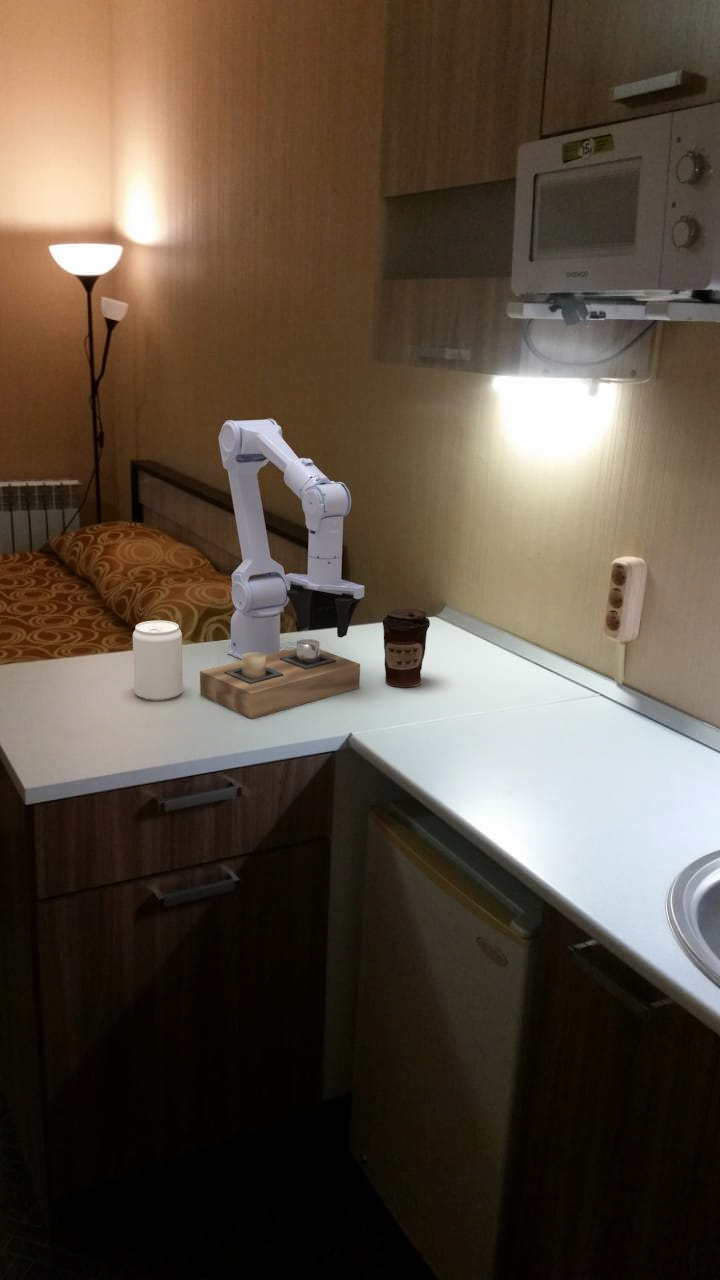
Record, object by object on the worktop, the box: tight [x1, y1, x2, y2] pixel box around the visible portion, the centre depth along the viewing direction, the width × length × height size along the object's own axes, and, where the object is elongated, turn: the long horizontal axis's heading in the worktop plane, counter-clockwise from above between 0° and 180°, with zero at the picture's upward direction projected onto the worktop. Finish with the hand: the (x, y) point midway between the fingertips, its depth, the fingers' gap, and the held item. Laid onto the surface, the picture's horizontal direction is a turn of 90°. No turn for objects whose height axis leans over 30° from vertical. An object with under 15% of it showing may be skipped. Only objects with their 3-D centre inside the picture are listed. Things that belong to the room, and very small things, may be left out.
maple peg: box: [241, 652, 266, 680], centre depth 182 cm, size 4×4×4 cm
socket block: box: [199, 647, 361, 720], centre depth 187 cm, size 14×24×5 cm, turn 134°
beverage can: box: [132, 620, 184, 701], centre depth 183 cm, size 8×8×12 cm
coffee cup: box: [382, 608, 431, 688], centre depth 192 cm, size 9×8×13 cm
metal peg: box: [296, 638, 321, 665], centre depth 190 cm, size 4×4×4 cm
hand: (322, 632), depth 187 cm, fingers open, 7 cm apart
